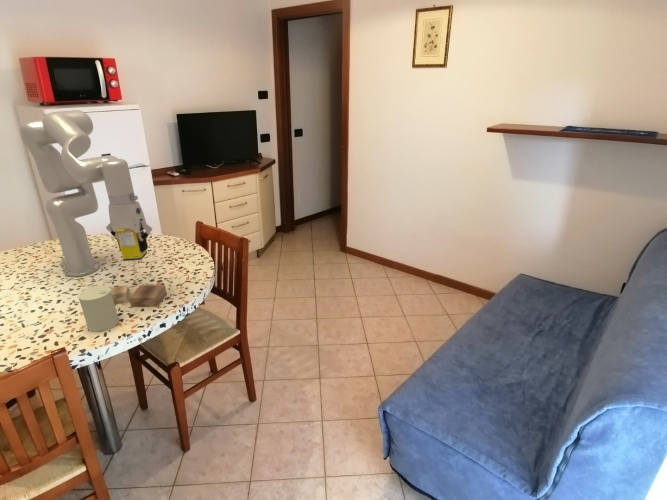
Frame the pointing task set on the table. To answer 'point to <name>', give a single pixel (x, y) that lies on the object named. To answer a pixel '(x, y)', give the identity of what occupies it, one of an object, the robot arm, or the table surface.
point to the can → (98, 308)
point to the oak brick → (120, 294)
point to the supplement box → (129, 245)
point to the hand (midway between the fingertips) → (133, 249)
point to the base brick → (148, 296)
